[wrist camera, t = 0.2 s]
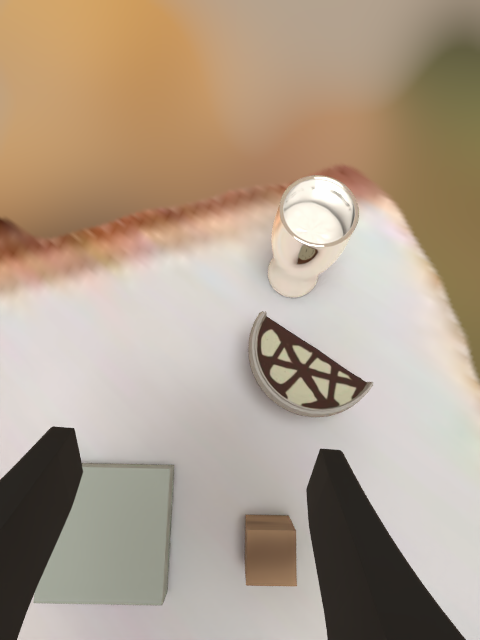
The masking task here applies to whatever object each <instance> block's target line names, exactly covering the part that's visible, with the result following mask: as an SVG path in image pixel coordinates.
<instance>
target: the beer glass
mask: <svg viewBox="0 0 480 640" xmlns="http://www.w3.org/2000/svg"><path fill="white" fill-rule="evenodd" d="M358 218H359V209H358V204H357V201H356V199H355V197H354V195H353V193H352V192H351V191H350V190H349V189H348V188H347V187H346V186H345V185H344V184H343V183H341V182H340V181H338V180H336V179H334V178H331V177H327V176H321V175H313V176H307V177H304V178H301V179H299V180H297V181H295V182H294V183H292V184H291V185H290V186H289V187H288V188H287V189H286V191H285V192H284V194H283V196H282V198H281V201H280V205H279V207H278V210H277V213H276V216H275V219H274V223H273V228H272V235H271V243H272V252H273V258H272V260H271V262H270V264H269V266H268V279H269V282H270V284H271V286H272V287H273V288H274V290H275V291H277V292H278V293H279V294H281V295H283V296H286V297H291V298H296V297H301V296H304V295H306V294H308V293H309V292H310V291H311V290H312V289H313V288H314V287H315V285H316V283H317V280H318V275H319V274H321V273H322V272H324V271H325V270H327V269H328V268H329V267H330V266H331V265H332V264H333V263H334V262H335V261H336V260H337V259H338V257H339V256H340V255H341V254H342V252H343V250H344V249H345V247H346V245H347V243H348V241H349V239H350V237H351V235H352V233H353V231H354V230H355V228H356V226H357V223H358Z"/></svg>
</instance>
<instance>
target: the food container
mask: <svg viewBox="0 0 480 640" xmlns="http://www.w3.org/2000/svg"><path fill="white" fill-rule="evenodd" d="M248 352H249V361H250V365H251V369H252V372H253V374H254V377H255V379H256V381H257V383H258V384H259V386H260V387H261V389H262V390H263V391H264V392H265V394H266V395H267V396H268V397H269V398H270V399H271V400H272V401H274V402H275V403H276V404H277V405H279V406H281V407H282V408H284V409H286V410H288V411H290V412H293V413H295V414H298V415H303V416H308V417H324V416H331V415H334V414H338V413H341V412H343V411H345V410H347V409H349V408H350V407H352V406H353V405H355V404H356V403H357V402H359V401H360V400H361V399H362V398H363V397H364V396H365V395H366V394H367V393H368V391H369V390H370V389H371V387H372V386H373V382H365V381H363V380H362V379H361V378H359V377H357V376H355V375H354V374H352V373H351V372H349V371H348V370H346V369H345V368H343V367H342V366H340V365H339V364H337V363H336V362H335V361H333V360H332V359H330V358H329V357H327V356H326V355H325V354H323V353H322V352H320V351H319V350H318V349H316V348H315V347H313V346H311V345H310V344H308V343H307V342H305V341H303V340H302V339H300V338H299V337H297V336H296V335H294V334H292V333H291V332H289V331H288V330H286V329H285V328H283V327H282V326H280V325H279V324H277V323H276V322H274V321H273V320H271V319H270V318H268V317H267V316H266V311H265V313H264V312H263V311H262V312H261V313H259V315H258V316H257V318H256V320H255V322H254V324H253V327H252V329H251V333H250V338H249V348H248Z"/></svg>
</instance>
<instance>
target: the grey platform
mask: <svg viewBox="0 0 480 640" xmlns="http://www.w3.org/2000/svg"><path fill="white" fill-rule="evenodd" d="M82 468H83V474H82V478H81V481H80V484H79V487H78V491H77V494H76V497H75V500H74V503H73V506H72V509H71V511H70V513H69V516H68V518H67V520H66V523H65V525H64V527H63V529H62V532H61V534H60V536H59V539H58V541H57V543H56V545H55V548H54V550H53V552H52V554H51V557H50V559H49V561H48V563H47V566H46V568H45V570H44V572H43V575H42V577H41V579H40V581H39V584H38V586H37V588H36V590H35V595H34V603H55V604H111V605H162V604H163V602H164V599H165V596H166V594H167V584H168V566H169V548H170V530H171V512H172V494H173V476H174V465H148V464H95V463H82Z"/></svg>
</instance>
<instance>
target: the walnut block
mask: <svg viewBox="0 0 480 640" xmlns="http://www.w3.org/2000/svg"><path fill="white" fill-rule="evenodd" d="M245 574H246V585H251V586H297V578H296V530H295V528H294V526H293V524H292V522H291V519H290V517H289V515H246V522H245Z"/></svg>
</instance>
